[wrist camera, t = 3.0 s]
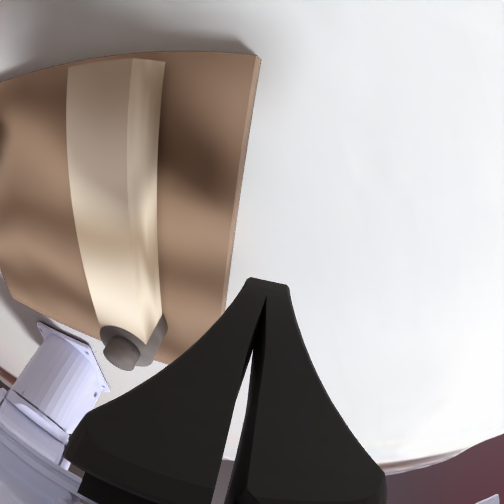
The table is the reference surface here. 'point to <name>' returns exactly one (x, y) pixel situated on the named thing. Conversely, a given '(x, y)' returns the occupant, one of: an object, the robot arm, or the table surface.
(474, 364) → the table surface
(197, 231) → the board
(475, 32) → the table surface
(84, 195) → the link
